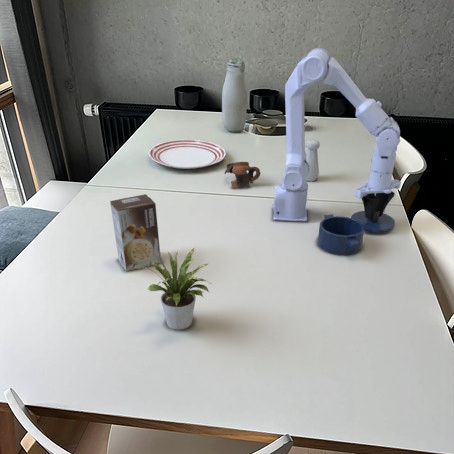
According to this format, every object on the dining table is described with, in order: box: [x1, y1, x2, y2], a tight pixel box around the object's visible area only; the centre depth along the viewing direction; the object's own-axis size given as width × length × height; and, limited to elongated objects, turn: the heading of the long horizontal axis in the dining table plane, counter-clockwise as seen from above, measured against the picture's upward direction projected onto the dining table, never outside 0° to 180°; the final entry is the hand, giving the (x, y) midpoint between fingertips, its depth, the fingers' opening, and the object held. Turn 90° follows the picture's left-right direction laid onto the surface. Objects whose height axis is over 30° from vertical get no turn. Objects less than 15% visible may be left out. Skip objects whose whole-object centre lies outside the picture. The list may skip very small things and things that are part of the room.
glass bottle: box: [221, 57, 248, 133], centre depth 207 cm, size 10×10×28 cm
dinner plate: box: [148, 138, 227, 170], centre depth 185 cm, size 27×27×3 cm
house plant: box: [137, 247, 212, 331], centre depth 102 cm, size 14×14×16 cm
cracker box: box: [110, 193, 162, 272], centre depth 123 cm, size 9×6×16 cm
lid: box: [350, 208, 396, 233], centre depth 144 cm, size 12×12×4 cm
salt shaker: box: [305, 138, 321, 182], centre depth 169 cm, size 6×6×13 cm
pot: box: [317, 213, 366, 256], centre depth 134 cm, size 11×17×5 cm
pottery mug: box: [224, 161, 261, 189], centre depth 168 cm, size 12×10×8 cm
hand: (373, 216), depth 144 cm, fingers closed on lid, 3 cm apart
